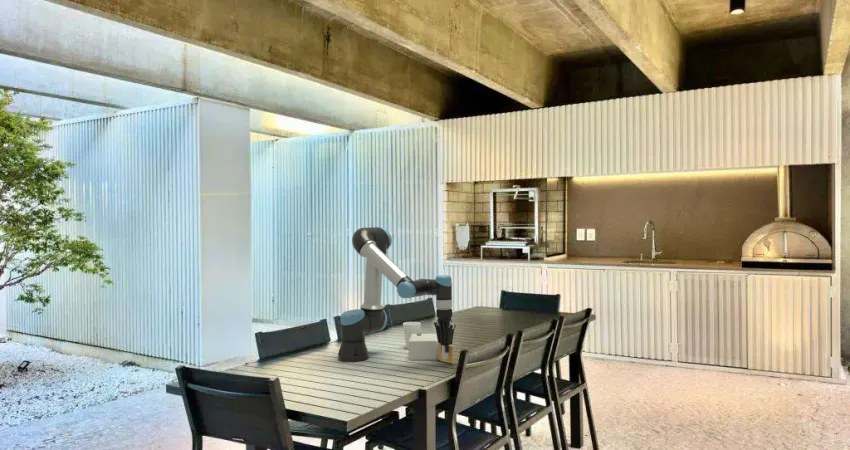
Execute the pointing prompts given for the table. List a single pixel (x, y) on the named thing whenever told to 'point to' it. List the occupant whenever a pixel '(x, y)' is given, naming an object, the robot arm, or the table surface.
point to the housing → (422, 347)
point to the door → (450, 353)
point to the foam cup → (410, 330)
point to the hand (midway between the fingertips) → (445, 359)
